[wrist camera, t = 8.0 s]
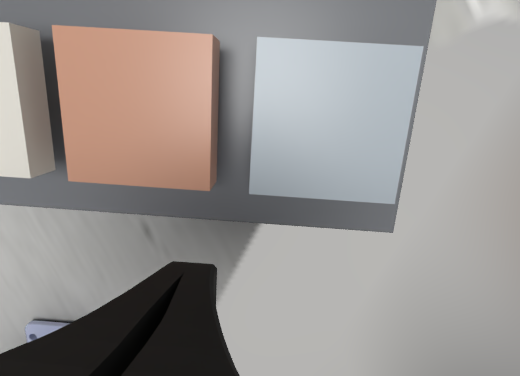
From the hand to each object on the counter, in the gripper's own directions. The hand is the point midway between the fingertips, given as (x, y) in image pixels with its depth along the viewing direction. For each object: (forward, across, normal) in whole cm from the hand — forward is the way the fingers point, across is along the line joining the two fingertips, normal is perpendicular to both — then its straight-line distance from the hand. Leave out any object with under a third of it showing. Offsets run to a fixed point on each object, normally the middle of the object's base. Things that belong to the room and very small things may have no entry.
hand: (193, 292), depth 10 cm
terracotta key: (+8, +3, -5) cm, 10 cm away
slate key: (+8, -4, -5) cm, 10 cm away
